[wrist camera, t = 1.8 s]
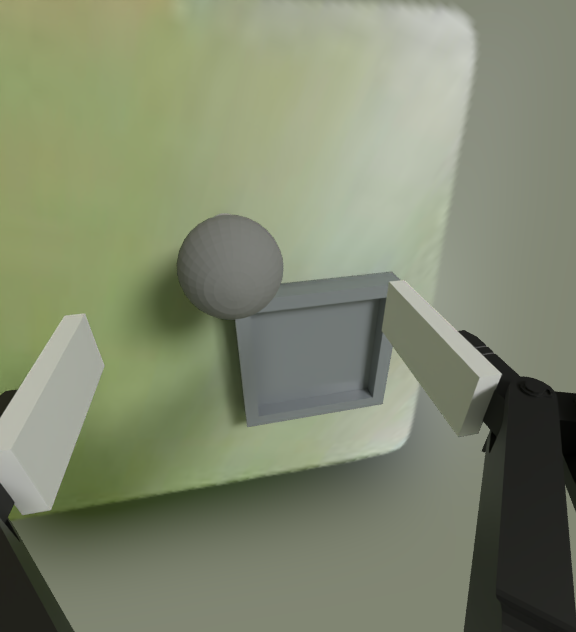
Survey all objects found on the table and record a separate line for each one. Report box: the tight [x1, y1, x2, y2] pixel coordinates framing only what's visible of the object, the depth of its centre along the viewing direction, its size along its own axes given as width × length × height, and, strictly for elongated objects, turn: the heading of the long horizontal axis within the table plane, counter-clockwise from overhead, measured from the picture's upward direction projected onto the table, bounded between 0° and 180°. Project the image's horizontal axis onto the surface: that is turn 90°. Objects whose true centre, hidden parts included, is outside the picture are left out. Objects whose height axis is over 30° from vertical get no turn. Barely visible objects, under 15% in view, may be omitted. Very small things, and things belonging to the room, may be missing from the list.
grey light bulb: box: [177, 213, 283, 320], centre depth 22 cm, size 6×6×10 cm
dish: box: [235, 272, 400, 427], centre depth 33 cm, size 14×14×2 cm
